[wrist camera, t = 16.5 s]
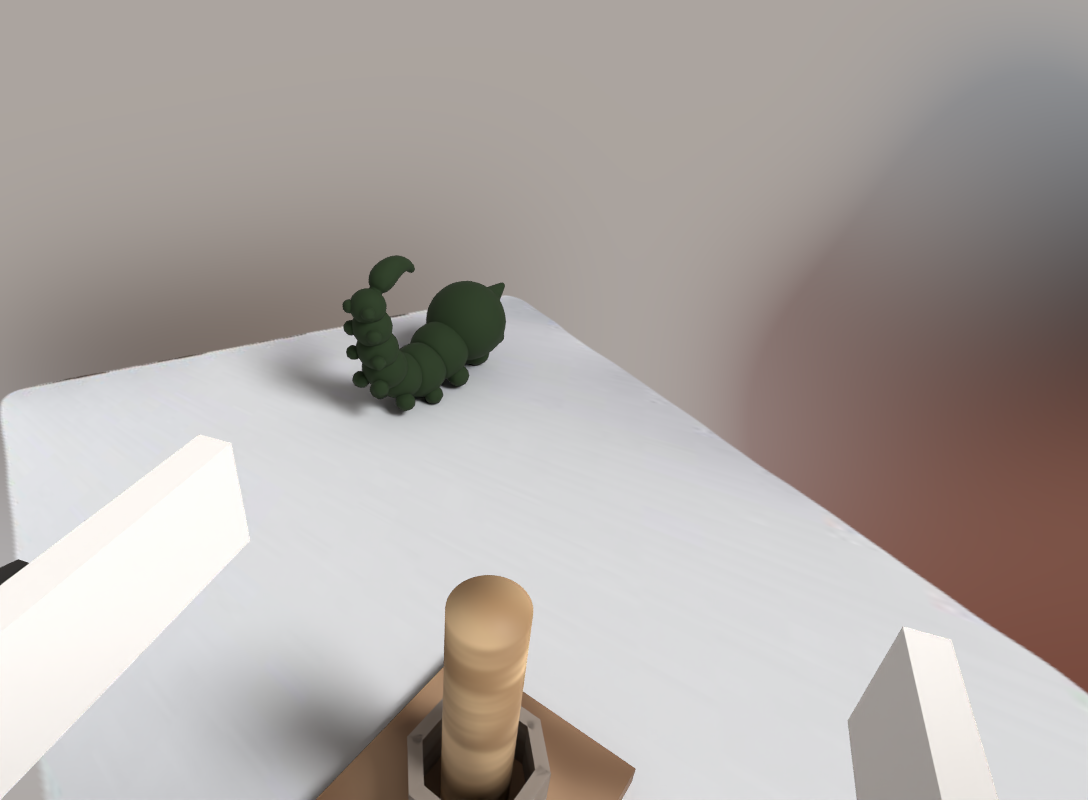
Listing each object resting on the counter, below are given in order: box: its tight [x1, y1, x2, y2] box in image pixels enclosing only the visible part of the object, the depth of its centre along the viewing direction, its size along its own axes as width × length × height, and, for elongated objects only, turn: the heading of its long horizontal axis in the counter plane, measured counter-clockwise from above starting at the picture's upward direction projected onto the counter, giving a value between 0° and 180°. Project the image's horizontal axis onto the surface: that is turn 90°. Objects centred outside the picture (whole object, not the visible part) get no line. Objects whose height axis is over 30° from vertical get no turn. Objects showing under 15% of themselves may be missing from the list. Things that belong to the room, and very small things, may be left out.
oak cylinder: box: [440, 575, 533, 800], centre depth 34 cm, size 4×4×16 cm
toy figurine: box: [343, 256, 506, 411], centre depth 75 cm, size 9×19×25 cm
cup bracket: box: [316, 667, 635, 800], centre depth 38 cm, size 14×14×6 cm
